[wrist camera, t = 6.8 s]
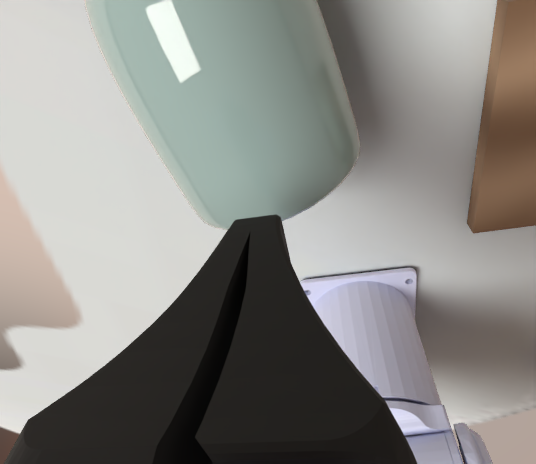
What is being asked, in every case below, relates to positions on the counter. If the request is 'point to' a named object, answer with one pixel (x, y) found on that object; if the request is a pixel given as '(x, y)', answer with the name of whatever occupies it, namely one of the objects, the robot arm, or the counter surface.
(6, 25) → the counter surface
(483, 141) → the board
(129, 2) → the cup
